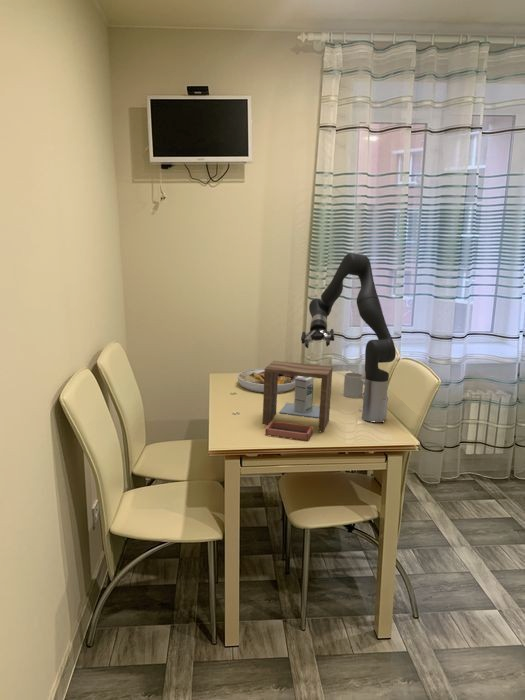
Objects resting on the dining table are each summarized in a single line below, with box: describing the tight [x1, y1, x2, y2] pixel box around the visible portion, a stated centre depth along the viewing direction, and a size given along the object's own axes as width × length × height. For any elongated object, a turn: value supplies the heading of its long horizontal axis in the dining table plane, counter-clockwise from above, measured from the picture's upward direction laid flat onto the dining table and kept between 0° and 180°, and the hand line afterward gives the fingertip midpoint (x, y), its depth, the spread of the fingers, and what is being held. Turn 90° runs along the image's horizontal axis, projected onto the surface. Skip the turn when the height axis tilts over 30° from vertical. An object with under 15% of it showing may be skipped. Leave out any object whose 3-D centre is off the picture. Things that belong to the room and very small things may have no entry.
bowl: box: [237, 368, 299, 394], centre depth 256 cm, size 30×30×8 cm
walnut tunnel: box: [262, 360, 334, 433], centre depth 204 cm, size 14×24×22 cm, turn 74°
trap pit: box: [264, 420, 314, 442], centre depth 194 cm, size 9×16×2 cm, turn 74°
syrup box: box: [293, 376, 315, 413], centre depth 218 cm, size 6×6×14 cm
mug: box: [343, 372, 365, 399], centre depth 244 cm, size 11×10×10 cm
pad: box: [278, 402, 320, 419], centre depth 220 cm, size 14×18×1 cm
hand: (317, 345), depth 222 cm, fingers open, 8 cm apart
